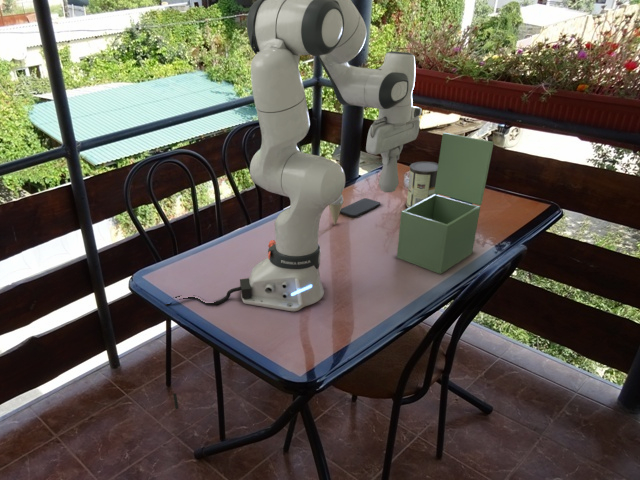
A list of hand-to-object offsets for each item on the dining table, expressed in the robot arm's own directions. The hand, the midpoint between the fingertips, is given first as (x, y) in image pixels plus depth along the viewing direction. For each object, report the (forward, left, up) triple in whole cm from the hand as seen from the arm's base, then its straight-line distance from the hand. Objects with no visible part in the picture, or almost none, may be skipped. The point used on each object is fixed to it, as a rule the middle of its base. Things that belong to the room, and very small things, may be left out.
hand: (390, 161), depth 163 cm
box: (+14, -11, -25) cm, 30 cm away
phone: (-8, +22, -25) cm, 34 cm away
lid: (+19, -4, -1) cm, 20 cm away
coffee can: (+13, +26, -25) cm, 38 cm away
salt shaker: (0, 0, -9) cm, 9 cm away
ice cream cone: (-16, +9, -25) cm, 31 cm away
